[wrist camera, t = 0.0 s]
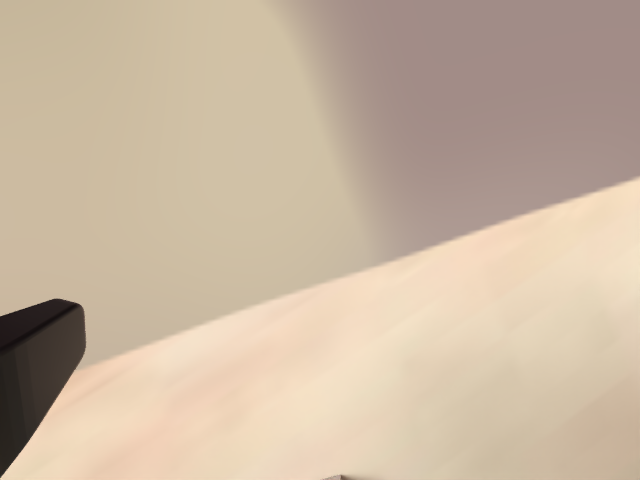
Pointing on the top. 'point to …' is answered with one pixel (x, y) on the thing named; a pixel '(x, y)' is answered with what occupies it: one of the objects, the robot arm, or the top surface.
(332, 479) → the grey socket tray
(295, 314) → the top surface
